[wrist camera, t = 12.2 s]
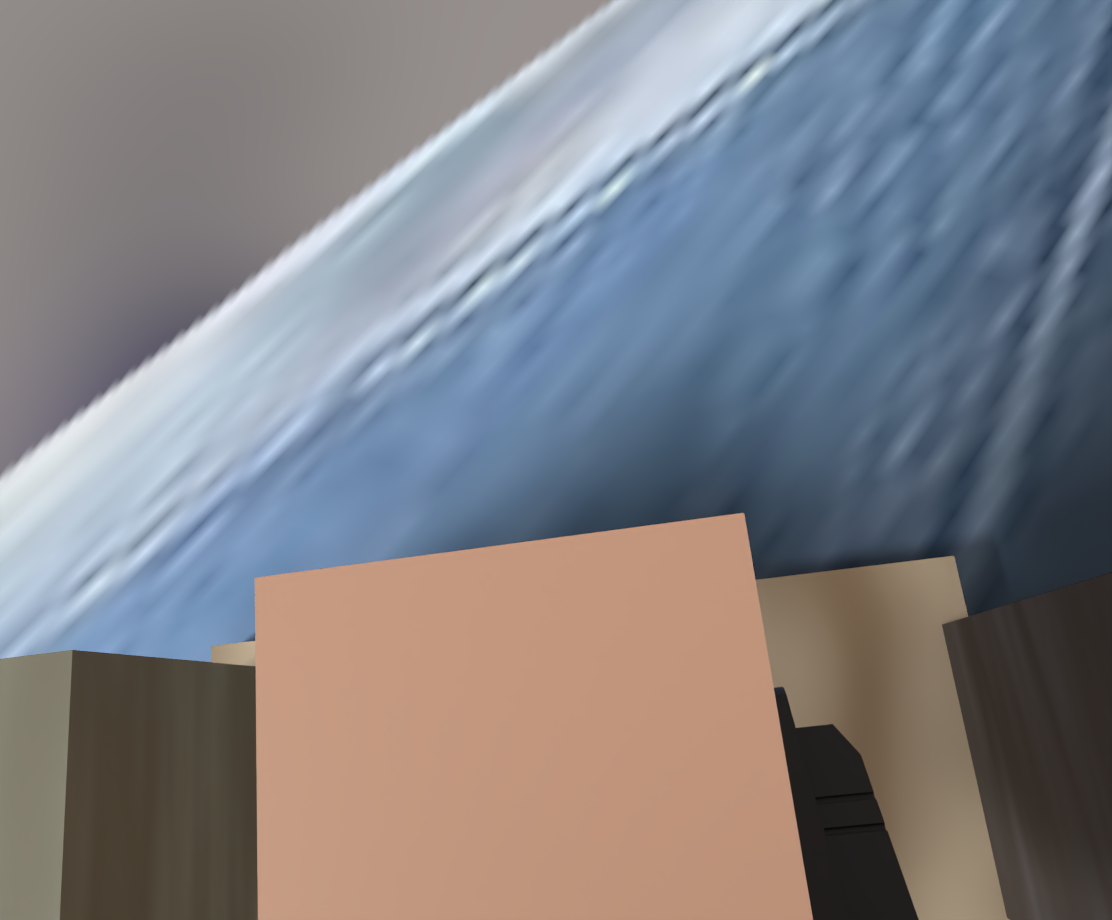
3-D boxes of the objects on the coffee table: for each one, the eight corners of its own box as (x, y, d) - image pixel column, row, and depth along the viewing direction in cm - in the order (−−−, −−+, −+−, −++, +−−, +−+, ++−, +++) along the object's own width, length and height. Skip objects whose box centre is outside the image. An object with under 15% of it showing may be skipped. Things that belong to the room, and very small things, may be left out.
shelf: (234, 1038, 28) (-359, 1478, 12) (233, 648, 31) (-231, 591, 15) (1035, 980, 25) (1621, 1442, 9) (940, 563, 29) (1257, 389, 13)
